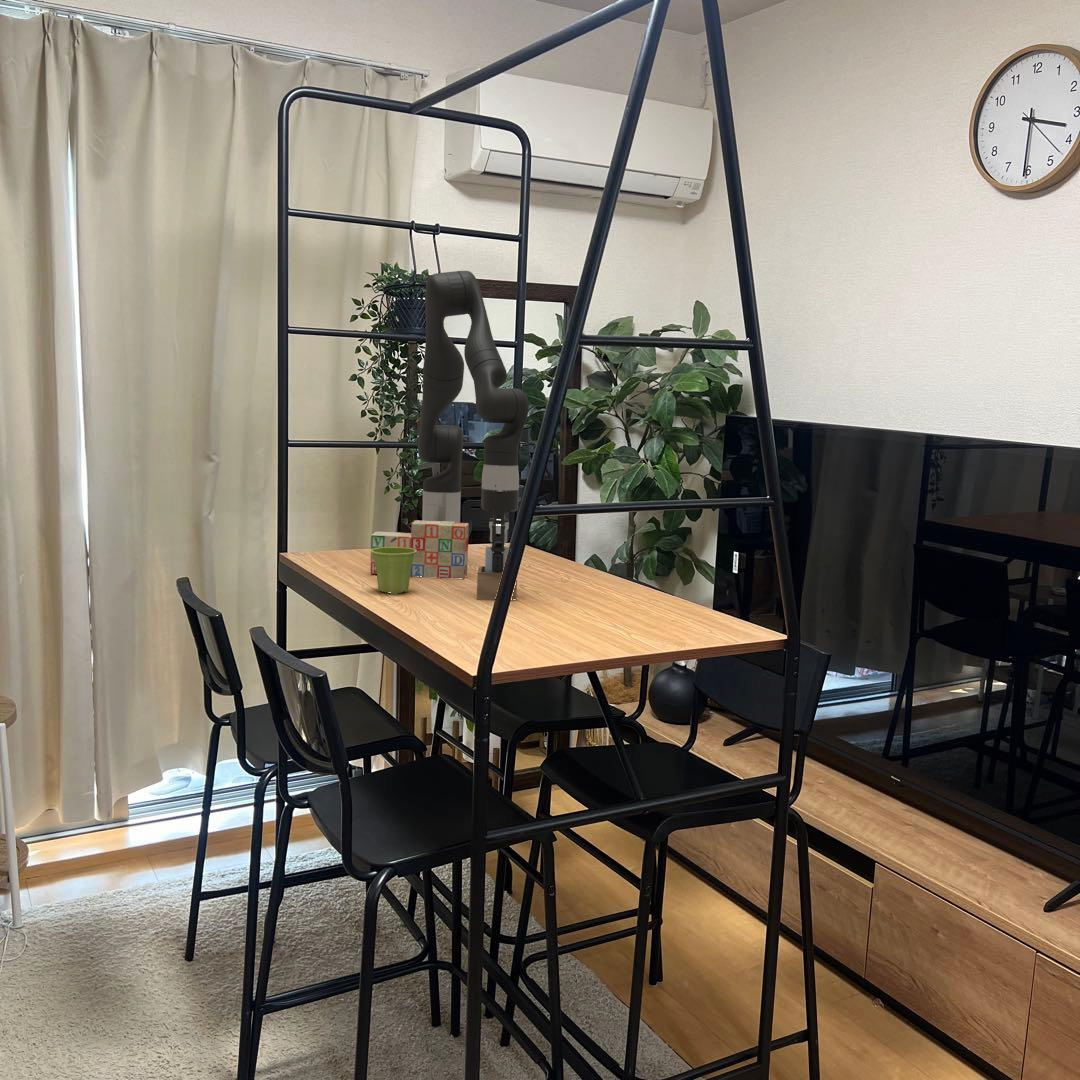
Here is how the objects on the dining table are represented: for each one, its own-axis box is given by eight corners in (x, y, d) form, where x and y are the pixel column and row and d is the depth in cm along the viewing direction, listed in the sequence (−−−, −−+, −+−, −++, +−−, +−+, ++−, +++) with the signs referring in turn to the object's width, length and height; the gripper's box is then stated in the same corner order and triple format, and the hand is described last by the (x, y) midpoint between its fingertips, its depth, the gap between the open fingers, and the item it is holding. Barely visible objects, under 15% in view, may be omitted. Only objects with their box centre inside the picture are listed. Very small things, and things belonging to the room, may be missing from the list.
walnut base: (478, 591, 220) (479, 566, 219) (516, 593, 220) (517, 567, 220) (476, 599, 212) (477, 572, 212) (516, 600, 212) (517, 573, 212)
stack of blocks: (369, 575, 235) (370, 521, 234) (375, 571, 242) (376, 518, 240) (464, 580, 235) (465, 525, 233) (467, 575, 241) (469, 521, 239)
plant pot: (371, 595, 212) (371, 553, 211) (369, 587, 221) (369, 546, 220) (417, 595, 214) (418, 553, 213) (413, 587, 223) (414, 546, 222)
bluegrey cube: (485, 570, 218) (486, 546, 217) (509, 571, 218) (510, 547, 218) (484, 574, 213) (485, 550, 213) (509, 575, 213) (510, 550, 213)
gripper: (483, 483, 220) (480, 563, 223) (480, 489, 206) (477, 575, 208) (518, 484, 220) (516, 564, 223) (518, 491, 206) (515, 576, 209)
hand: (497, 569), depth 216 cm, fingers closed on bluegrey cube, 4 cm apart
